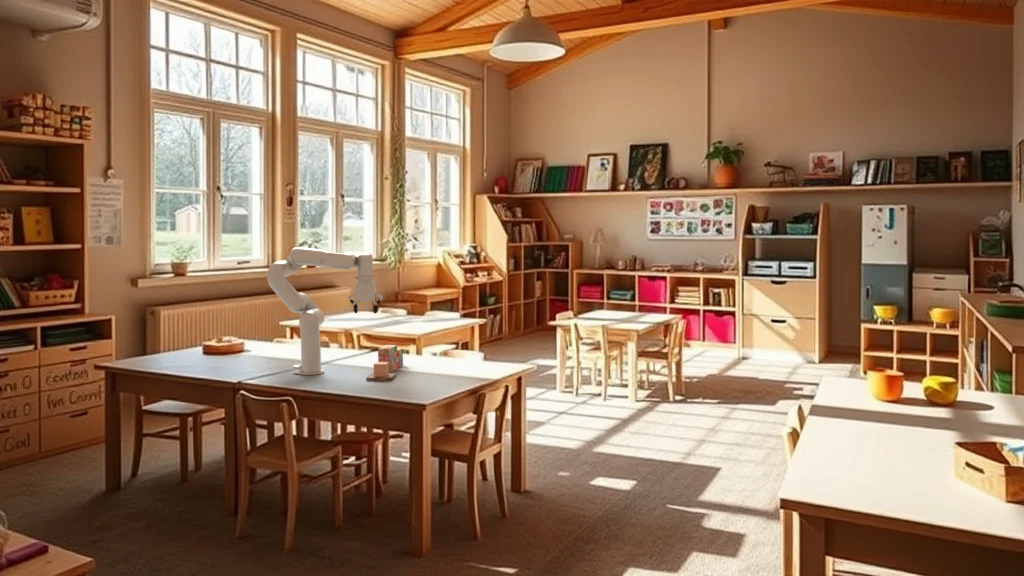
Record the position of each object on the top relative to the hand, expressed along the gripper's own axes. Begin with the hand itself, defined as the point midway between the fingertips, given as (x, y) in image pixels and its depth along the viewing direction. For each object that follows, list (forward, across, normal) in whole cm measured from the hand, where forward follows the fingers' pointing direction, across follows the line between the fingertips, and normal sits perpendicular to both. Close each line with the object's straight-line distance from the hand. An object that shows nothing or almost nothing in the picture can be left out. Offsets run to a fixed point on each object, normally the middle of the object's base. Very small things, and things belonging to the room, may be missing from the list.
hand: (365, 313), depth 409 cm
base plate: (+30, +10, -14) cm, 35 cm away
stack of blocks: (+31, +10, +14) cm, 35 cm away
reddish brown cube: (+29, +10, -14) cm, 34 cm away
